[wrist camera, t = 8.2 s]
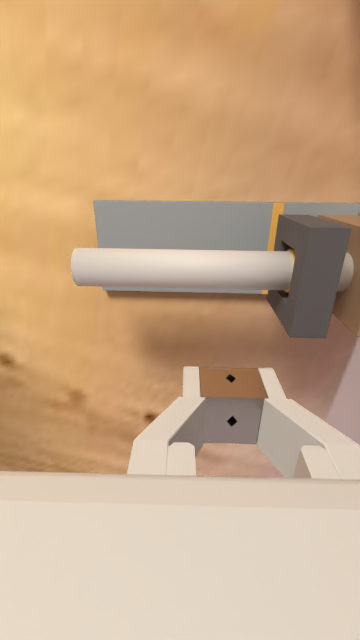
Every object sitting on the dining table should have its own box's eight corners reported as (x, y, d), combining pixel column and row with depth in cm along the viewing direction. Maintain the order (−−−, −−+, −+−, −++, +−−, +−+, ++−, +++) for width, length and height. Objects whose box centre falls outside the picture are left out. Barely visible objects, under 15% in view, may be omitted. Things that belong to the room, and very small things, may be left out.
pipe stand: (104, 287, 33) (61, 340, 22) (95, 200, 29) (37, 212, 18) (335, 292, 32) (406, 350, 21) (356, 203, 28) (457, 217, 18)
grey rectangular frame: (266, 299, 28) (290, 337, 22) (278, 214, 25) (310, 227, 18) (293, 299, 28) (325, 338, 21) (308, 214, 25) (352, 228, 18)
